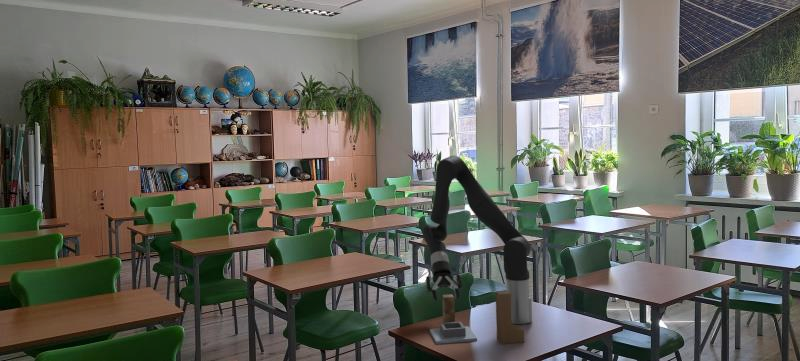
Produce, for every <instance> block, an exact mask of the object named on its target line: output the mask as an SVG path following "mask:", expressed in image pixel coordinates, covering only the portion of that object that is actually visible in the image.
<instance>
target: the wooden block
mask: <svg viewBox="0 0 800 361" xmlns="http://www.w3.org/2000/svg"><path fill="white" fill-rule="evenodd" d="M495 319H496V320H495V322H496V323H495V324H496V340H497V341H498V343H499V344H500V345H504V344H516V343H517V344H518V343H519V344H520V343H525V330H524V328H522V327H521V325H520V326H519V325H514V324H513V323H512V316H511V294H510V293H509V292H508V291H506V290H499V291H497V290H496V291H495Z"/></svg>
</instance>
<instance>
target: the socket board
mask: <svg viewBox="0 0 800 361" xmlns="http://www.w3.org/2000/svg"><path fill="white" fill-rule="evenodd" d="M429 333H430V335H431V336H432V339H433V341H434V343H435V344H436V345H441V344H451V343H453V344H454V343H466V342H467V343H469V342H477V341H478V337H477V336H476V335H475V333H474V332H473V331H472V330H471V328H470V326H468V325H467V326H465V325H464V324H463V323H462V321H455V322H448V323H443V322H440V323H439V328H430V329H429Z"/></svg>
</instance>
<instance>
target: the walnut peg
mask: <svg viewBox="0 0 800 361" xmlns="http://www.w3.org/2000/svg"><path fill="white" fill-rule="evenodd" d="M441 296H442V297H441V298H442V323H448V322H456V313H455V310H456V309H455V308H456V307H455V303H456V302H455V295H453V293H452V294H451V293H450V294H442V295H441Z"/></svg>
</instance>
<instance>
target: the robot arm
mask: <svg viewBox="0 0 800 361" xmlns="http://www.w3.org/2000/svg"><path fill="white" fill-rule="evenodd" d="M454 179H455V180H456V181H457V182H458V183H459V184H460V185H461V186H460V187H462V188H463V190H464V193H465V196H466V200H467V204H468V206H469V208H470V210H471V211H472V212H473V214H474V215H475V216H476V217H477V219H478V220H479V221H480V222H481V223H482V224H483V225H484V226H486V227H487V228H488V229H490V230H491V231H492V232H494V233H495V234H496V235H497V236H498V237H499V238H500V240H501V241H502V242H503V244H504V246H503V249H502V250H503V251H502V254H503V255H502V256H503V257H502V258H503V270H504V274H505V291H508V292H509V293H510V294H511V316H512V324H513V325H526V324H529V323H533V306H532V305H533V304H532V302H533V300H532V297H531V295H530V294H531V291H530V289H531V288H530V272H529V270H528V259H527V258H528V257H529V255H530V254H531V245H530V242H529V241H528V239H527V238H526V237H525V236H524V235H523V234H522V233H520V231H519V230H518V229H517V228H516V227H514V226H513V224H512V223H511V222H510V220H509V219H508V218H507V216H506V215H505V213H504V212H503V211H502V210H501V209H500V208H499V206H498V205H497V203H496V202H495V201H494V200H493V198H492V197H491V196H490V195H489V193H488V192H487V191H486V190H485V188H484V187H483V186H482V185H481V184H480V183H479V181H478V180H477V178H475V175H474V174H473V173H472V172H471V170H470V168H469V167H468V165H467V164H466V162H465V161H464V159H462V158H461V157H460V156H458V155H456V154H455V155H449V156H448V157H445V158H443V159H441V160H439V162H438V164H437V166H436V174H435V188H434V189H435V190H434V191H435V192H434V200H433V204H432V208H431V212H430V220H431V222H432V223H434V224H425V225H424V226H423V227H422V228H423V229H422V237H423V240H424V242H425V243H426V245H427V248H428V250H429V255H430V256H429V257H430V267H431V271H432V277H430V276H428V275H427V276H426V277H425V278H426V279H425V285H426V292H428V293H431V297H432V300H433V301H435V302H436V301H437V300H438V297H437V289H438V288H444V287H445V288H450V289H452V290H453V291H454V293H453V294H454V300H458V299H459V297H460V292H459V291H461V290H462V289H463V283H462V280H461V277H460V274H456V275H452V271H451V265H450V260H449V256H448V253H447V246H446V244H445V243H444V241H445V240H446V239H447V237H448V230H447V219H448V216H449V211H450V206H451V205H450V204H451V201H450V197H449V196H450V195H449V189H450V187H451V184H452V182H453V180H454ZM432 282H433V283H434V284H433V287H431V283H432ZM455 282H456V283H455Z"/></svg>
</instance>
